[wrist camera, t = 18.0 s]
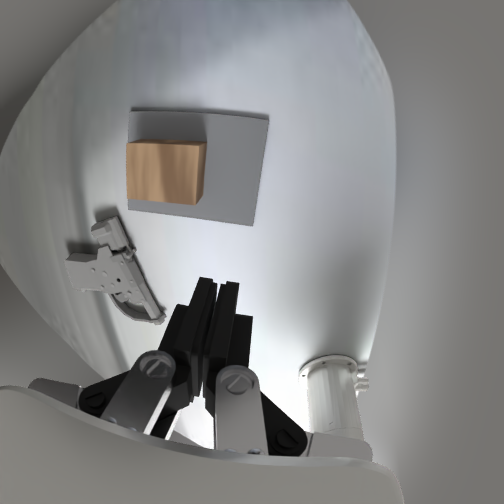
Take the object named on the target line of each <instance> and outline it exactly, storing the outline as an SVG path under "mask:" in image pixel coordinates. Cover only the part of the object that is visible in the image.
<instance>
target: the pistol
mask: <svg viewBox="0 0 504 504" xmlns="http://www.w3.org/2000/svg"><path fill="white" fill-rule="evenodd" d="M91 232H92V235H93V237H94V238H97V240H98V242H99V244H100V246H101V247H100V248H99V249H98V254H95V255H92V254H82V253H72V254H71V255H70V256H69V257H68V258H67V259H66V260H65V261H64V264H65V267H66V270H67V273H68V276H69V278H70V281H71V284H72V286H73V288H74V289H75V290H77V291H81V292H85V291H86V290H96V291H102V292H104V293H108V294H109V296H110V298H111V299H112V301H113V303H114V304H115V306H116V307H117V308H118V309H119V310H120V311H121V312H122V313H123V314H124V315H126V316H128V317H129V318H131V319H133V320H135V321H144V322H150V323H154V324H155V325H161V324H162V323H163V322H164V321H165V320H164V318H165V317H167V316H166V314H164V313H163V312H162V311H161V312H160V310H159V308H158V306H157V305H156V303H155V301H154V299H153V297H152V296H151V293H150V291H149V289H148V287H147V285H146V283H145V282H144V277H143V275H142V273H141V271H140V270H139V268H138V266H137V264H136V262H135V259H134V257H133V253H134V252H136V251H137V250H136V248H133V249H132V247H131V246H130V247H129V245H128V244H129V241H128V239H127V237H126V235H125V232H124V230H123V228H122V226H121V223H120V221H119V219H118V217H117V216H115V217H112V218H108V219H106V220H103V221H100V222H98V223H96V224H94V225H93V226H92V227H91ZM124 246H126V247H125V248H123V247H124ZM115 249H116V250H115ZM111 250H114V251H111ZM129 299H130V300H131V302H132V303H133V304H137V303H142V304H143V305H144V307H145V309H146V311H147V312H148V313H141V312H136V311H135V310H133V309H131V308H129V307H128V306H127V305H126V304H125V303H124V302H125V301H127V300H129Z"/></svg>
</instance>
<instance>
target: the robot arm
mask: <svg viewBox="0 0 504 504" xmlns="http://www.w3.org/2000/svg"><path fill="white" fill-rule="evenodd" d="M238 290H239V283H236V282H229V281H227V282H226V284H221V286H220V289H219V293H218V297H217V301H216V296H217V283H213V279H210V278H204V277H200V278H199V280H198V283H197V285H196V288H195V291H194V293H193V296H192V299H191V301H190V304H189V306H186V305H181V304H177V305H176V307H175V309H174V312H173V314H172V316H171V319H170V321H169V324H168V326H167V328H166V331H165V333H164V336H163V338H162V341H161V343H160V346H159V348H158V350H151V351H148V352H145V353H143V354H142V355H141V356H140V357H139V358H138V359H137V360H136V362H135V363H134V365H133V367H132V368H131V370H129V371H127V372H124V373H122V374H119V375H117V376H114V377H112V378H109V379H106V380H104V381H101V382H99V383H96V384H93V385H90V386H88V387H86V388H81V386H80V385H76V384H70V383H64V382H59V381H54V380H49V379H45V378H37V379H34V380H33V381H32V382H31V383H30V384H29V386H28V388H26V387H21V386H12V385H8V386H0V504H404V498H403V493H402V490H401V487H400V483H399V481H398V479H397V477H396V475H395V474H394V473H393V472H392V471H391V470H390V469H388V468H387V467H385V466H382V465H380V464H378V463H374V462H372V455H373V454H372V449H371V447H370V445H369V444H368V443H367V442H365V441H364V436H363V430H362V424H361V419H360V414H359V408H358V403H357V397H356V392H355V391H367V390H368V388H369V384H368V378H367V377H362V378H359V377H357V374H358V366H357V363H356V362H355V361H354V360H353V359H352V358H350V357H347V356H342V355H330V356H324V357H321V358H318V359H315V360H313V361H311V362H309V363H308V364H306V365H305V366H304V367H303V368H302V369H301V371H300V373H299V383H300V385H301V386H302V387H303V388H305V389H307V394H308V408H309V424H310V432H306V431H304V430H303V429H302V428H301V427H300V426H299V425H298V424H296V423H295V422H294V421H293V420H292V419H291V418H290V417H288V416H287V415H286V414H285V413H284V412H283V411H282V410H281V409H279V408H278V407H277V406H276V405H275V404H274V403H273V402H272V401H271V400H270V399H269V398H268V397H266V396H265V395H264V394H263V393H262V392H261V391H260V386H259V380H258V377H257V376H256V374H255V373H254V372H253V371H252V370H250V369H249V368H248V366H249V355H250V344H251V333H252V322H253V316H247V315H240V314H235V313H236V305H237V298H238ZM202 382H203V398H205V408H206V410H207V411H208V412H209V413H210V414H211V416H212V417H213V432H214V449H208V448H203V447H197V446H192V445H187V444H183V443H177V442H174V441H169V438H170V435H171V433H172V431H173V429H174V427H175V424H176V422H177V420H178V418H179V416H180V413H181V409H182V408H184V407H186V406H188V405H189V403H190V402H192V403H193V400H194V396H197V397H199V395H200V391H201V386H202Z"/></svg>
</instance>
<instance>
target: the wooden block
mask: <svg viewBox="0 0 504 504" xmlns="http://www.w3.org/2000/svg"><path fill="white" fill-rule="evenodd" d="M206 151H207V142H201V141H186V140H165V139H139V140H136V141H132V142H129V143H127V145H126V176H127V199H136V200H147V201H157V202H167V203H176V204H186V205H194V206H196V204H197V203H198V202H199V200H200V199H201V198H202V196H203V190H204V176H205V163H206Z"/></svg>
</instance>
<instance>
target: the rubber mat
mask: <svg viewBox="0 0 504 504" xmlns="http://www.w3.org/2000/svg"><path fill="white" fill-rule="evenodd" d="M268 124H269V120H265V119H258V118H251V117H242V116H233V115H223V114H212V113H197V112H173V111H133V112H129V127H128V143H129V142H132V141H136V140H139V139H165V140H186V141H201V142H207V151H206V163H205V176H204V190H203V196H202V198H201V199H200V200H199V202H198V203H197V204H196V206H194V205H186V204H176V203H167V202H157V201H147V200H136V199H128V210H134V211H142V212H150V213H158V214H166V215H174V216H182V217H189V218H197V219H204V220H211V221H219V222H226V223H233V224H239V225H246V226H253V223H254V216H255V209H256V203H257V196H258V190H259V183H260V176H261V170H262V163H263V157H264V150H265V144H266V137H267V131H268Z"/></svg>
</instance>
